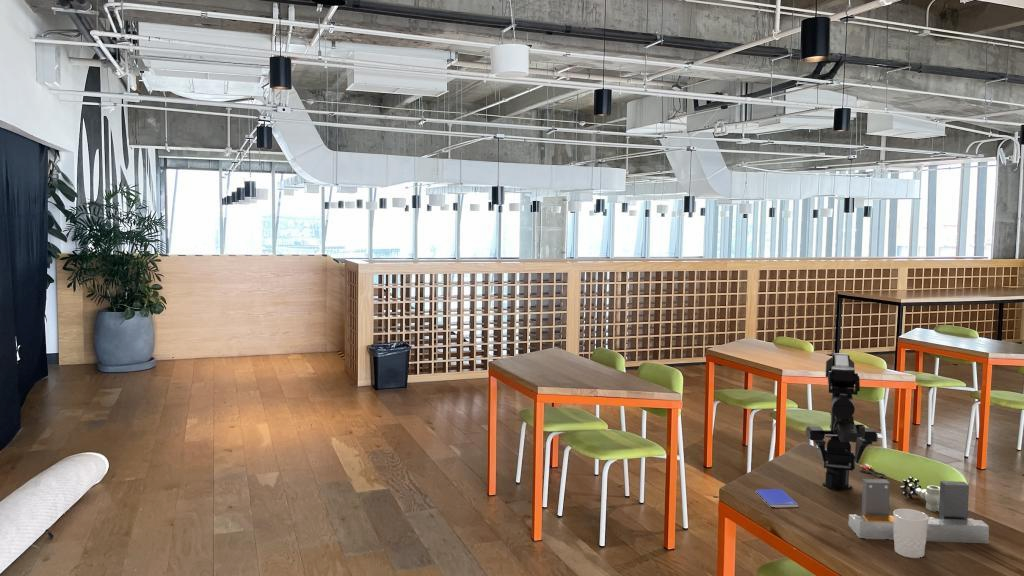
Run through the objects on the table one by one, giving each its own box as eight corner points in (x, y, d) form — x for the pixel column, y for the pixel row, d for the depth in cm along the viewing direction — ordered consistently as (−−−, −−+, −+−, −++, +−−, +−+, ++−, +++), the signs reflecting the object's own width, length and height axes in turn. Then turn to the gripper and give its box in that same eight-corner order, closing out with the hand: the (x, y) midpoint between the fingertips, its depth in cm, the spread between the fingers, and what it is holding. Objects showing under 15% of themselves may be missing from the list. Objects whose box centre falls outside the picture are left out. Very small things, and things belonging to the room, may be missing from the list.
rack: (848, 524, 212) (849, 476, 211) (970, 528, 209) (973, 480, 208) (859, 538, 203) (861, 488, 202) (988, 543, 199) (990, 492, 198)
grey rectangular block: (861, 524, 211) (862, 478, 209) (884, 525, 210) (885, 479, 209) (865, 529, 207) (867, 482, 206) (888, 530, 207) (890, 483, 205)
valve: (948, 511, 222) (918, 496, 233) (949, 489, 221) (919, 475, 233) (928, 513, 220) (899, 498, 232) (929, 490, 220) (900, 477, 231)
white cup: (885, 546, 198) (886, 509, 197) (914, 545, 199) (916, 507, 198) (903, 560, 190) (905, 521, 189) (933, 558, 191) (935, 519, 190)
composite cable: (888, 479, 250) (888, 471, 249) (875, 480, 249) (875, 472, 248) (868, 469, 259) (868, 462, 259) (855, 470, 258) (856, 463, 258)
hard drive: (798, 503, 226) (781, 488, 238) (770, 504, 225) (755, 489, 238) (798, 508, 226) (781, 493, 238) (770, 509, 225) (755, 494, 238)
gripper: (816, 416, 217) (814, 470, 218) (885, 418, 215) (883, 472, 216) (805, 407, 228) (804, 458, 229) (871, 408, 226) (869, 460, 227)
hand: (840, 462), depth 225 cm, fingers open, 9 cm apart
